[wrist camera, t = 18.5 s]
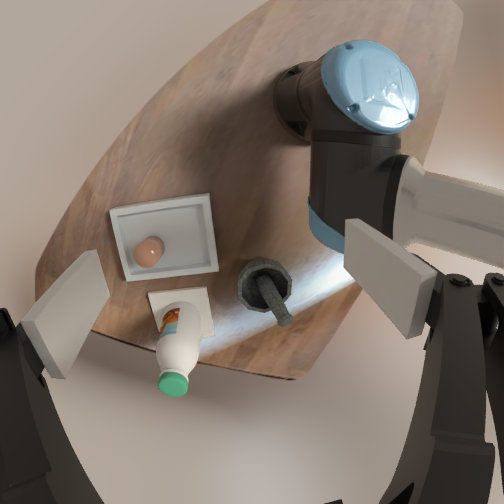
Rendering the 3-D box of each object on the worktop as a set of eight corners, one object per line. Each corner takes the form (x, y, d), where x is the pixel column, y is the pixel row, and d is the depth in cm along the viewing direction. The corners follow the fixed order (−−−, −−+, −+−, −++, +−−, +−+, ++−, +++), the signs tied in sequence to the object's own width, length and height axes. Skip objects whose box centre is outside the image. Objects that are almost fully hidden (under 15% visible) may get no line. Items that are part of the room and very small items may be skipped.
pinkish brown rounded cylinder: (168, 255, 51) (161, 264, 46) (147, 261, 51) (139, 271, 47) (160, 232, 50) (152, 240, 45) (139, 239, 50) (129, 247, 45)
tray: (209, 192, 49) (208, 195, 47) (218, 265, 54) (218, 271, 52) (113, 207, 48) (109, 210, 45) (130, 275, 53) (126, 281, 51)
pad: (206, 285, 56) (206, 287, 55) (215, 333, 60) (215, 335, 59) (148, 291, 55) (147, 293, 54) (162, 338, 59) (161, 340, 59)
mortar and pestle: (224, 267, 55) (227, 300, 44) (264, 238, 53) (277, 265, 42) (258, 306, 59) (268, 342, 48) (296, 280, 57) (313, 313, 46)
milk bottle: (195, 296, 55) (188, 368, 37) (205, 327, 58) (204, 400, 40) (159, 303, 55) (139, 374, 37) (171, 333, 58) (159, 405, 40)
